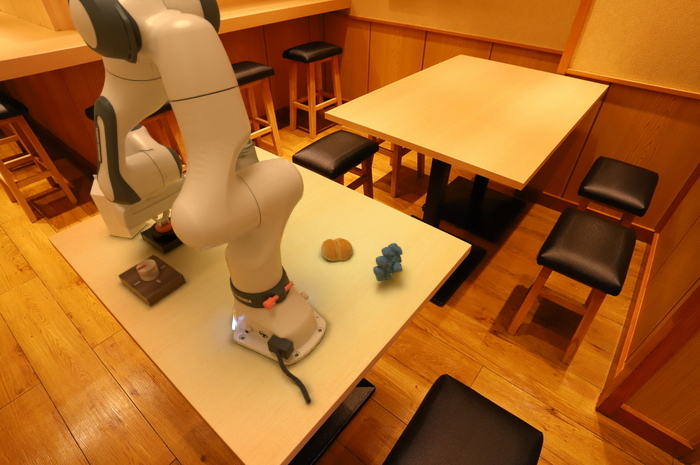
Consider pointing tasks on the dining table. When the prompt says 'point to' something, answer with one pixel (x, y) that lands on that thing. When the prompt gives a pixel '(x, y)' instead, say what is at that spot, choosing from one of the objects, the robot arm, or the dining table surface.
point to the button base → (161, 239)
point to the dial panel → (153, 282)
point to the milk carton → (111, 214)
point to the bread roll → (336, 249)
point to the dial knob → (148, 270)
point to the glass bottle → (246, 156)
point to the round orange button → (164, 227)
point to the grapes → (388, 262)
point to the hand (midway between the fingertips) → (163, 224)
